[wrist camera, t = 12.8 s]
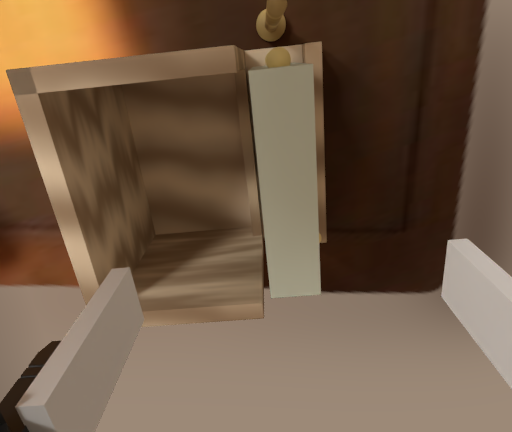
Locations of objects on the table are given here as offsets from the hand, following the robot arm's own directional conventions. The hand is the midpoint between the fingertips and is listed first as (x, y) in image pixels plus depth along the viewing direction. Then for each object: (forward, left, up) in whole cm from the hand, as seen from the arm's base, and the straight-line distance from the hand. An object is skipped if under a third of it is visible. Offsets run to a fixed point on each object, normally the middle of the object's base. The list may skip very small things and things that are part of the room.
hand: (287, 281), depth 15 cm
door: (0, +1, -25) cm, 25 cm away
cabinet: (0, -5, -27) cm, 27 cm away
